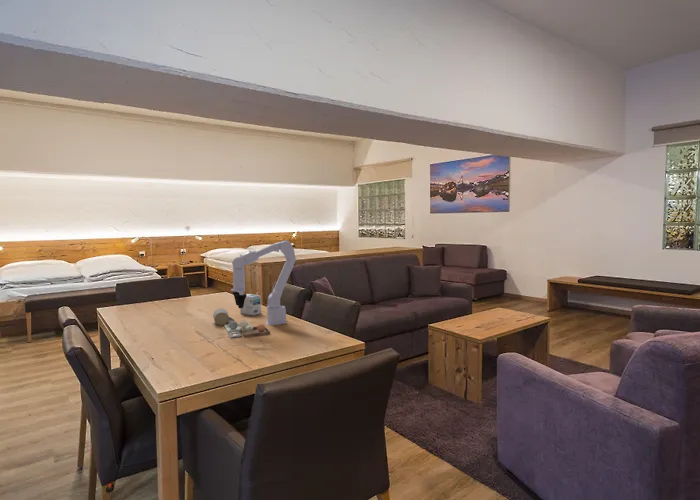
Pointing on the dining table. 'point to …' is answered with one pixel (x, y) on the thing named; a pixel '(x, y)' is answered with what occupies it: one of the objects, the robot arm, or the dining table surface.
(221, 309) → the ceramic mug
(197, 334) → the dining table surface
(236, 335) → the tile
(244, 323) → the cream ball
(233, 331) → the sage tray
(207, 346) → the dining table surface
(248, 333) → the walnut tray
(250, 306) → the light bulb box
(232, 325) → the grey ball
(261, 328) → the terracotta ball
